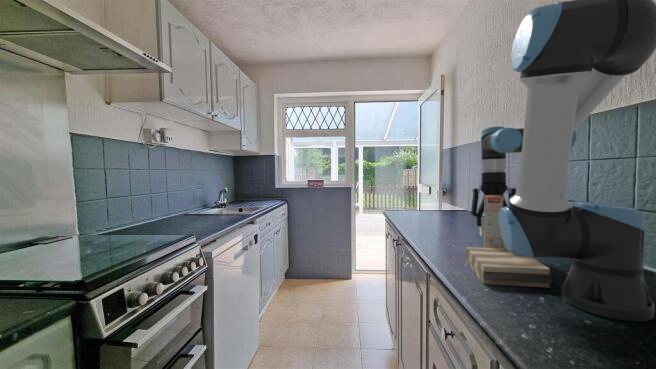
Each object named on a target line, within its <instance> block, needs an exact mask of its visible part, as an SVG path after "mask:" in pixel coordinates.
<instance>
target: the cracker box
mask: <svg viewBox="0 0 656 369" xmlns="http://www.w3.org/2000/svg"><path fill="white" fill-rule="evenodd" d="M504 198H505V196H504V197H503V196H502V195H485V198H484V212H483V218H484V236H483V245H484V246H483V248H504V242H503V239H502V236H501V232H500V226H499V212H500V209H501V208H504Z"/></svg>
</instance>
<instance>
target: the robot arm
mask: <svg viewBox="0 0 656 369" xmlns="http://www.w3.org/2000/svg"><path fill="white" fill-rule="evenodd" d="M655 51H656V2H654V0H567V1H557V2H555V3H551V4H547V5H543V6H537V7H535V8H533V9H532V10H530V11H529V12H528V13H527V14H526V15H525V17H524V18H523V19H522V21H521V23H520V24H519V27H518V29H517V31H516V34H515V36H514V39H513V43H512V49H511V55H510V62H511V64H510V66H511V69H512V70H513V71H515V72H516V73H520V75H519V76H520V78H519V81H520V82H521V83H522V84H523V85H525V86H526V87H527V88H526V89H527V92H526V101H525V102H526V103H525V111H524V112H525V114H524V123H523V127H522V128H515V127H504V126H500V125H499V126H489V127H484V128H483V129H482V130H481V137H480V142H481V171H482V172H481V183H480V184H481V185H480V187H476V188H475V187H473V188H472V189H471V191H472V200H471V201H472V202H471V208H470V210H471V211H470V215H472V216H473V217H475V218H476V226H477V227H479V236H481V237H484V198H485V195H502V196H503V197H504V208H501V209H500V212H499V226H500V232H501V236H502V239H503V245H504V246H505V248H507V249H508V251H509V252H510V253H512V254H514V255H517V256H528V257H530V258H548V259H549V258H550V259H553V258H554V259H571V267H570V270H569V272H568V273H567V276H566V278H565V280H564V283H563V284H562V287H561V296H562V297H561V298H562V299H563V300H564V301H565V302H566V303H568V304H570V305H571V306H573V307H575V308H577V309H579V310H582V311H584V312H588V313H590V314H594V315H597V316H601V317H604V318H609V319H613V320H620V321H627V322H628V321H629V322H647V321H651V320H653V319H655V313H656V310H655V309H656V308H655V303H654V302H653V298H652V296H651V293H650V291H649V288H648V286H647V284H646V281H645V279H644V266H645V265H644V264H645V263H644V262H645V235H646V234H645V233H646V232H647V229H646V223H645V216H644V213H643V212H642V211H641V210H639V209H636V208H633V207H627V206H622V205H615V204H608V203H600V202H592V201H579V200H575V201H573V202H572V203H571V202H570V201H569V200H568V199H567V198H566V197H565V192H566V185H567V184H566V183H567V178H568V177H567V176H568V170H569V163H570V155H571V149H572V148H574V147H575V143H576V141H577V131H576V130H577V129H578V128H579V127H580V126H581V125H582V123H583V122H584V121H585V120H586V119H587V118H588V117H589V116H590V115H591V114H592V113H593V112H594V110H596V109H597V107H598V106H599V105H600V104H601V103H602V102H603V101H604V100H605V99H606V97H607V96H608V95H609V94H610V93H611V92H612V91H613V90H614V89H615V88H616V87H617V85H618V84H619V83H621V81H622V80H623V79H624V78H625V76H629V75H632V74H634V73H636V72H637V71H638V70H640V68H642V66H643V65H644V64H645V63H646V62H647V61H648V60H649V59H650V58H651V56H653V54H654V53H655ZM509 153H510V154H513V153H514V154H515V153H521V156H520V166H519V175H518V177H519V178H518V188H517V189H516V187H509V186H507V173H506V172H505V171H506V170H507V154H509ZM506 191H507V192H506ZM481 192H482V193H483V196H482V199H481V202H480V204H478V202H479V196H480V195H479V194H481ZM516 192H517V193H516ZM505 193H507V194H508V202H509V204H507V201H506V198H505V195H504V194H505ZM478 205H479V207H478Z"/></svg>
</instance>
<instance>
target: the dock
mask: <svg viewBox="0 0 656 369" xmlns="http://www.w3.org/2000/svg"><path fill="white" fill-rule="evenodd" d="M465 262H466V263H467V265H468V266H469V268H470V269H471V270H472V271H473V273H474V274H475V275H476V276H477V278H478V279H479V281H480V282H481V284H483V285H496V286H497V285H498V286H514V287H515V286H516V287H517V286H518V287H533V288H534V287H535V288H548V289H549V288H550V287H551V286H550V284H553V279H552V278H553V276H552V275H551V269H550V268H549V267H548V266H546V265H545V264H543V263H541V262H540V261H539V260H537V259H536V258H535V257H533V258H530V257H528V256H517V255H514V254H512V253H510V252H509V251H508V249H507V248H506V247H505V248H504V247H503V248H484V247H474V246H473V247H472V246H471V247H469V246H467V247H465Z"/></svg>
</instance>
